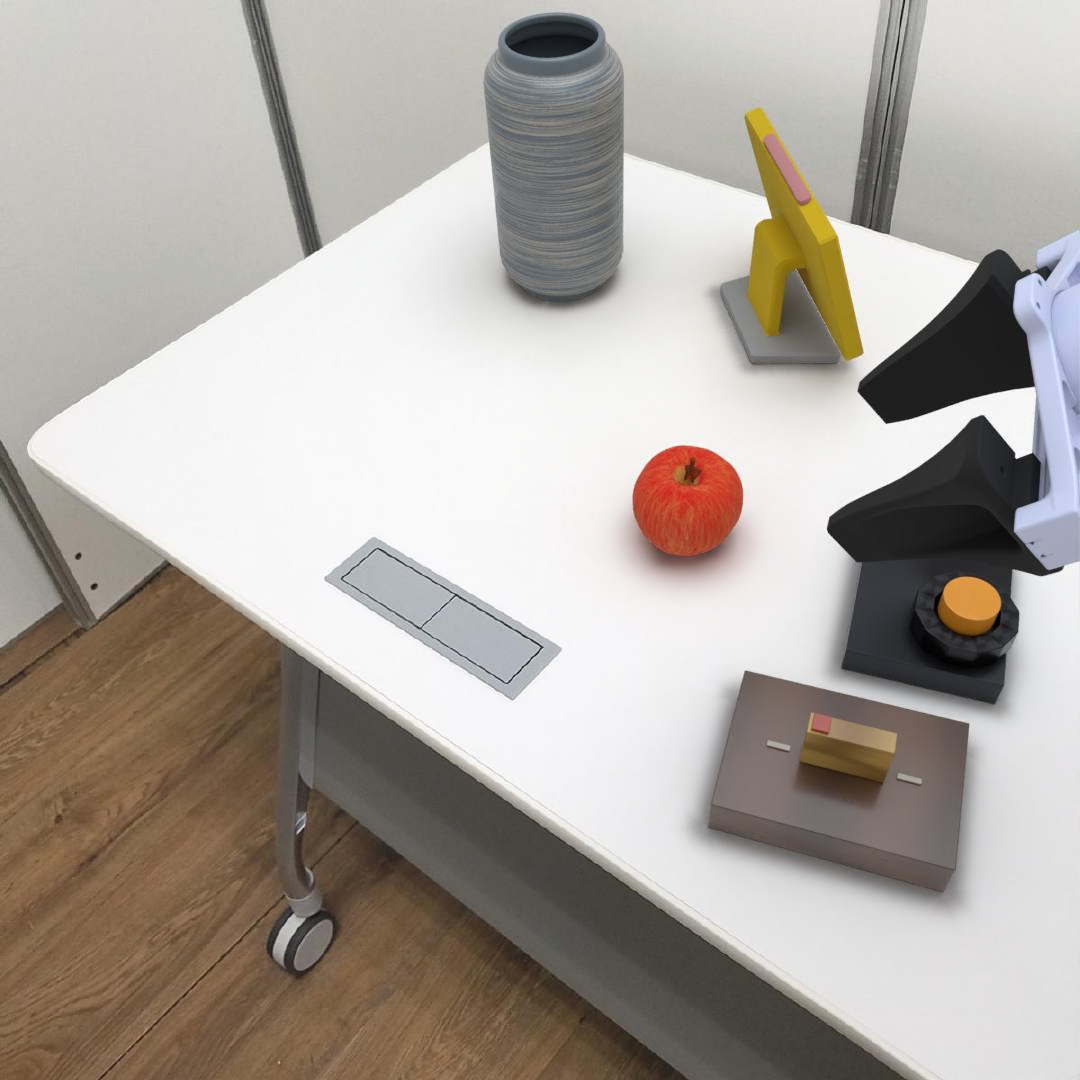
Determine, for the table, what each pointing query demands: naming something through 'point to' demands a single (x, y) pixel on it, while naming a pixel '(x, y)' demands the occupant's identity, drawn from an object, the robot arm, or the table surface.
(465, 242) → the table surface
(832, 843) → the lock plate
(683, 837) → the table surface
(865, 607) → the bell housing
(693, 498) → the apple
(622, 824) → the table surface
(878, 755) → the wooden block
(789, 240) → the toy computer monitor
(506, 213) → the vase
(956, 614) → the bell button
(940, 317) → the robot arm
